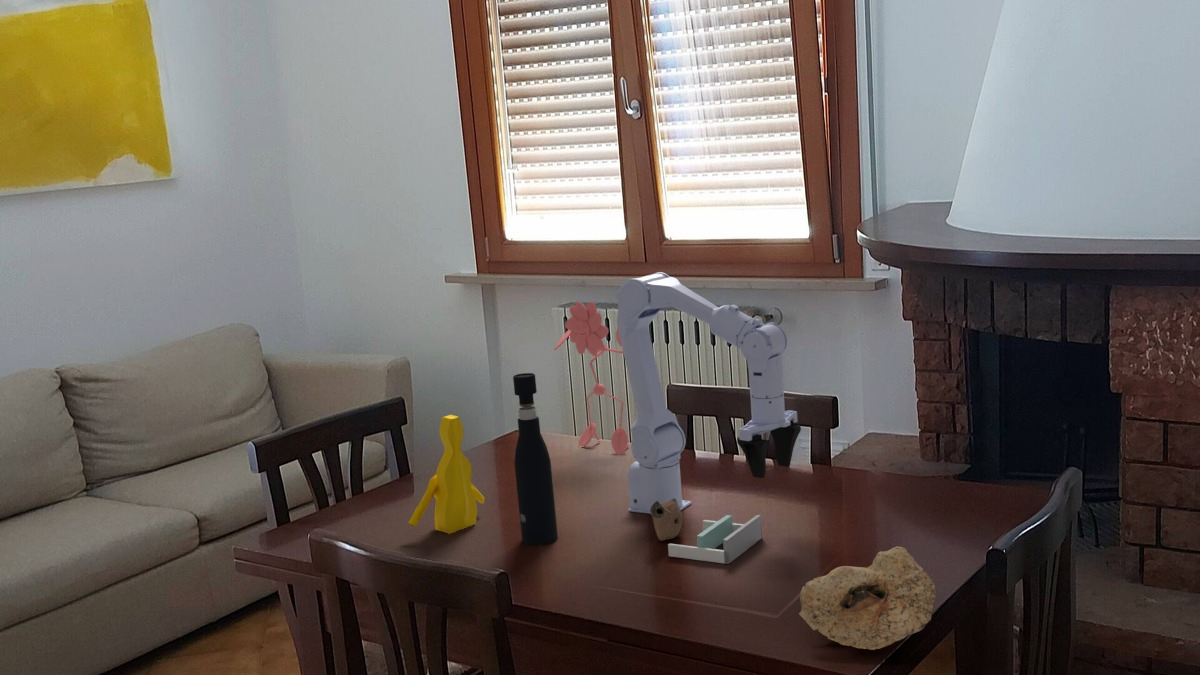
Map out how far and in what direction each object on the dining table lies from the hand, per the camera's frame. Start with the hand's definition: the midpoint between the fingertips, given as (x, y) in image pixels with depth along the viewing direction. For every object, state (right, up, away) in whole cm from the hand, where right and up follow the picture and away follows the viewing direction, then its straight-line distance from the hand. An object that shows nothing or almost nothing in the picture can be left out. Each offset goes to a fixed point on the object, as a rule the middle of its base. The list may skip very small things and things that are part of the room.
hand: (771, 471), depth 202 cm
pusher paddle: (-11, -12, -6) cm, 17 cm away
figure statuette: (-57, -13, +15) cm, 60 cm away
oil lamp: (-18, -12, -1) cm, 22 cm away
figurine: (-31, -4, +58) cm, 66 cm away
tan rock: (+9, -17, -41) cm, 46 cm away
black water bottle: (-40, -13, +5) cm, 43 cm away
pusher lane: (-11, -12, -6) cm, 17 cm away
